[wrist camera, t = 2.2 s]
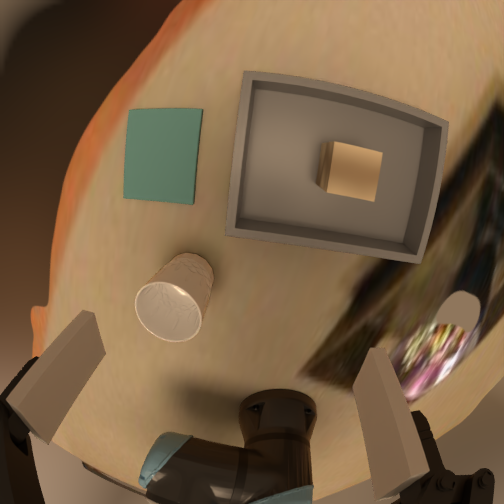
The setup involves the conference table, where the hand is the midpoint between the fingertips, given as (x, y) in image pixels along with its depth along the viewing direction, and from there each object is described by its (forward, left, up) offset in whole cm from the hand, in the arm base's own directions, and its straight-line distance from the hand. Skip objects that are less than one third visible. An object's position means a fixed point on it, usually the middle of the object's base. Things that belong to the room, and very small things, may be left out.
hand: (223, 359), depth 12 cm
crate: (+8, -9, -24) cm, 27 cm away
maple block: (+8, -9, -24) cm, 27 cm away
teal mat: (+7, +13, -24) cm, 29 cm away
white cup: (-9, +8, -25) cm, 27 cm away
